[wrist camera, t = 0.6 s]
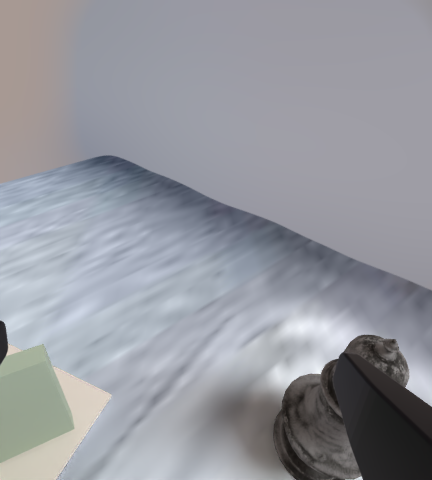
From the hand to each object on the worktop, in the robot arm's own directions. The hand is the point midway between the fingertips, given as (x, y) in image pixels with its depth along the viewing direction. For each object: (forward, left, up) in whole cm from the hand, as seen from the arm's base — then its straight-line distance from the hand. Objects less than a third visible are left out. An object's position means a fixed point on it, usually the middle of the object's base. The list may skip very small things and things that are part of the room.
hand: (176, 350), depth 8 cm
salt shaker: (+6, -8, -15) cm, 18 cm away
